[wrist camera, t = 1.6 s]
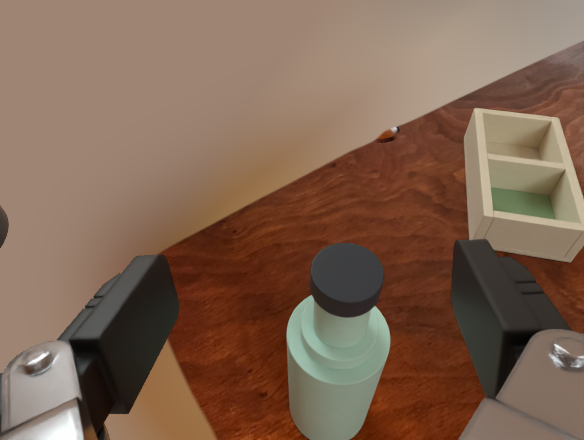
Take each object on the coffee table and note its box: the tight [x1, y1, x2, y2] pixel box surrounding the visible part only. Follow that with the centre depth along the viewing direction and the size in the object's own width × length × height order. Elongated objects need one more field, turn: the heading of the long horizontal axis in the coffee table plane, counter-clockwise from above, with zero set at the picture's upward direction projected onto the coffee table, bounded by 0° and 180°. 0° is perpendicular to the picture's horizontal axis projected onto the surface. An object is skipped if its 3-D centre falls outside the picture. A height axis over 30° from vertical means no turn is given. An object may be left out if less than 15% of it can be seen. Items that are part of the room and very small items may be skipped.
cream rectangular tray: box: [464, 108, 584, 262], centre depth 41 cm, size 8×16×4 cm, turn 167°
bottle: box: [287, 243, 390, 440], centre depth 23 cm, size 5×5×15 cm
